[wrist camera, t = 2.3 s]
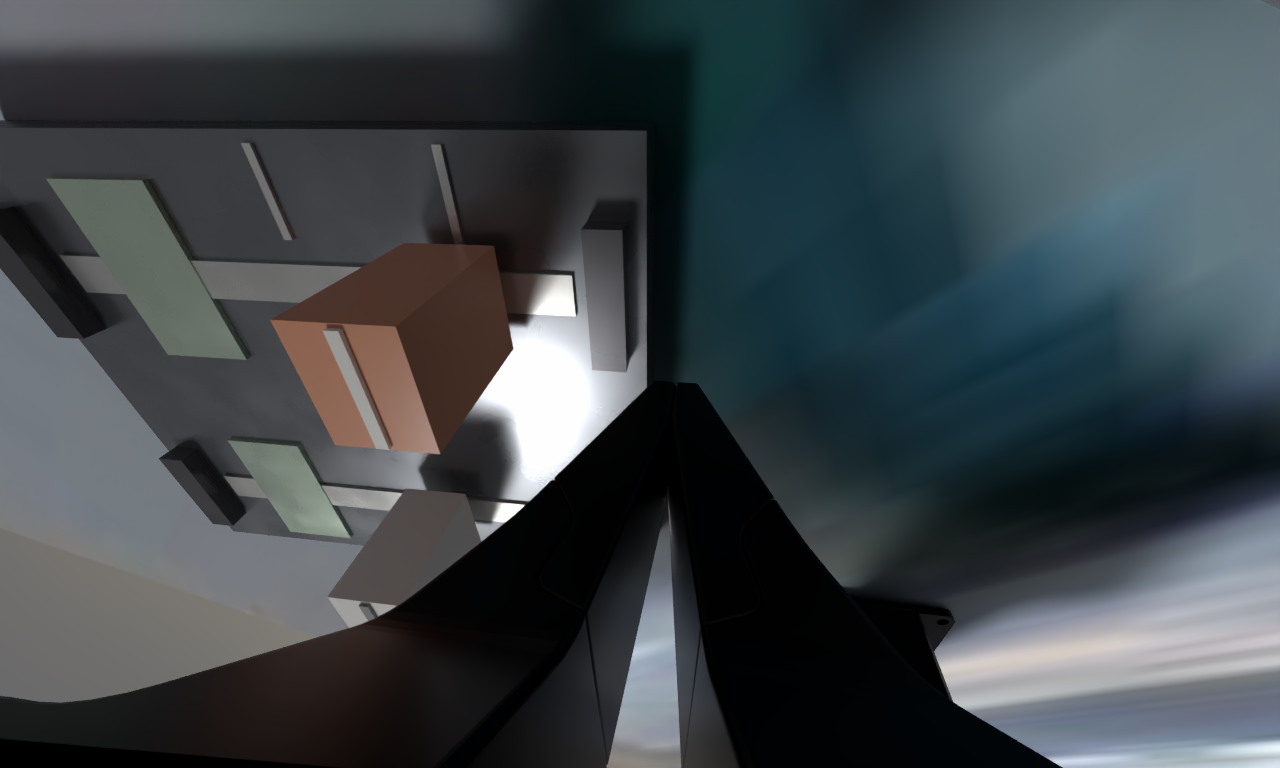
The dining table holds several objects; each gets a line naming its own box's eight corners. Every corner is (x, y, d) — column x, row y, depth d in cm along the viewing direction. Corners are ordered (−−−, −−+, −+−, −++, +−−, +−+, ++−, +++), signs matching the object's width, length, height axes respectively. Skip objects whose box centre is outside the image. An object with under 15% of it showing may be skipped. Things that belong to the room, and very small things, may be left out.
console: (651, 540, 22) (644, 594, 19) (268, 501, 24) (222, 546, 22) (655, 122, 12) (642, 134, 10) (2, 120, 14) (-131, 130, 12)
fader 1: (513, 349, 13) (437, 457, 10) (435, 344, 13) (331, 448, 10) (493, 246, 11) (392, 329, 8) (404, 242, 12) (265, 322, 8)
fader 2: (481, 543, 19) (427, 658, 15) (427, 537, 19) (360, 649, 16) (465, 493, 17) (399, 609, 14) (405, 488, 17) (325, 600, 14)
